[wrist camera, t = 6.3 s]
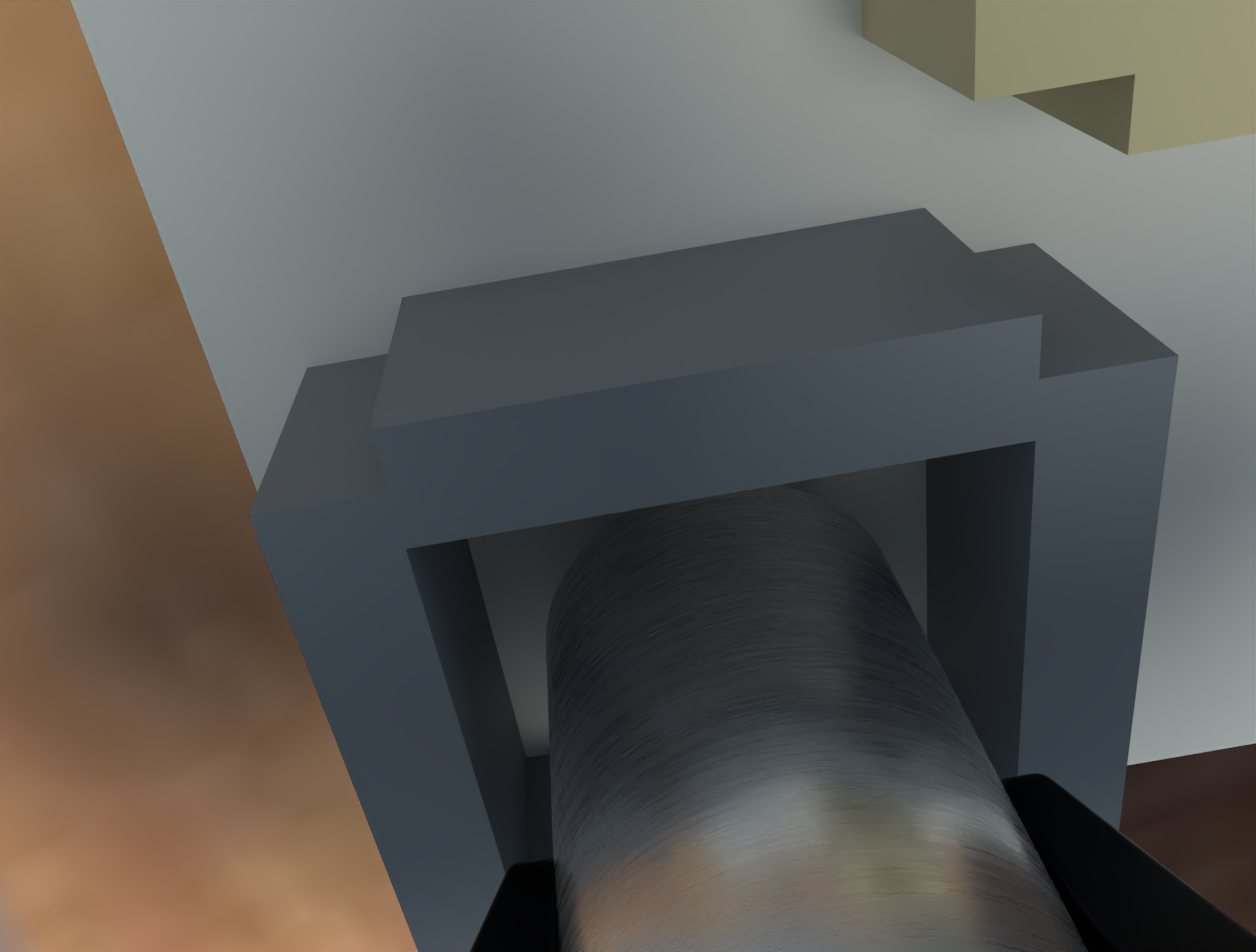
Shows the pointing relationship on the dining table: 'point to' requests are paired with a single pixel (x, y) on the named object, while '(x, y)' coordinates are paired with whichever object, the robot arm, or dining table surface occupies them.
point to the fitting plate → (719, 347)
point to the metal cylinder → (770, 750)
